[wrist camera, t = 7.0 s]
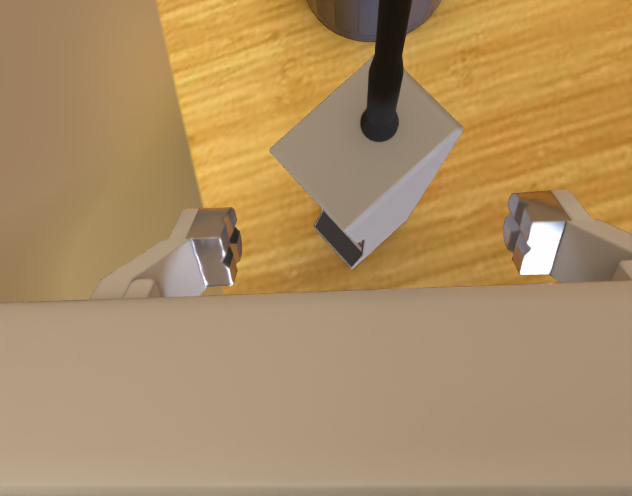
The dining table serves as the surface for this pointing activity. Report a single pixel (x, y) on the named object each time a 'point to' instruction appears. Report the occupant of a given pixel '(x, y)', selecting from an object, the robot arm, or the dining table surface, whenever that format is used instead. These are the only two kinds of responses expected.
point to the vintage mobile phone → (370, 146)
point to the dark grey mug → (364, 16)
